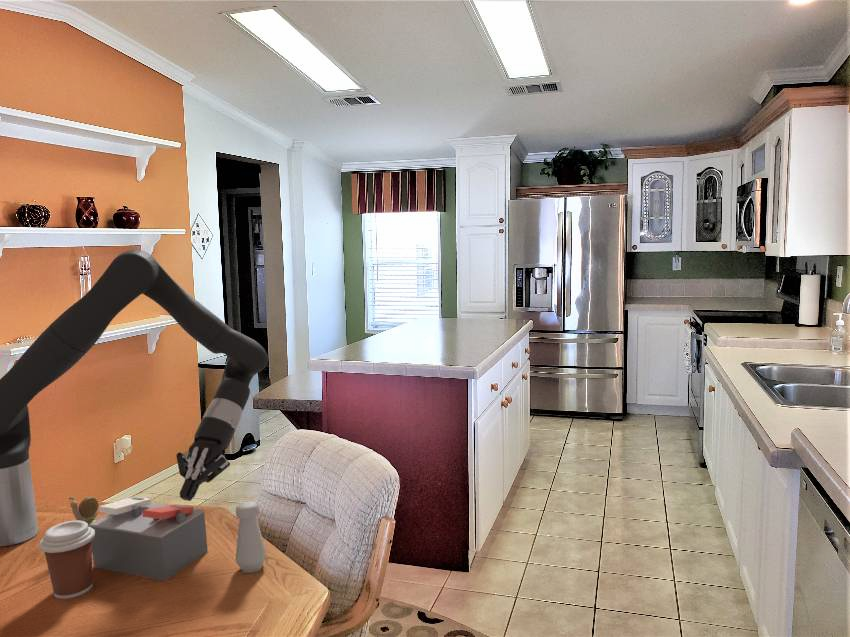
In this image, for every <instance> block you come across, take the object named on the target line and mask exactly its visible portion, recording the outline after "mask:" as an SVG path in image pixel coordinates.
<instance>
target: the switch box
mask: <svg viewBox="0 0 850 637" xmlns="http://www.w3.org/2000/svg"><path fill="white" fill-rule="evenodd" d="M165 506H171V504H164V503H156V502H151V505H148V506H144V507H141V506H140V505H138V506H136V507H134V508H132V510H131V511H128V512H124V513H121V514H118V515H113V514H106V515H104V516H103V517H101V518H99V519H96V520H97V521H95V522H93V523H91V524H89V527H91V528H92V529H94V530H95V538H94V539H93V540H92V564H93V568H96V569H101V570H107V571H111V572H117V573H122V574H125V575H126V574H127V575H132V576H138V577H141V578H147V579H153V580H158V581H163V582H166V581H168V580H170V578H172V577H174V576H175V575H176V574H178V573H180V572H181V571H182V570H183V569H185V568H186V567H188V566H189V565H190V564H192V563H194V562H196V560H198V559H199V558H201V557H202V556H203V555H205V554H206V553H208V552H209V550H208V540H207V527H206V518H205V509H201V508H200V509H199V508H193V513H191V514H185V512H182V511H181V512H180V513H178V514H176V516H175V517H170V518H164V519H155V518H149V517H142V516H143V510H147V509H153V508H159V507H165Z"/></svg>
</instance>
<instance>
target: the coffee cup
mask: <svg viewBox="0 0 850 637" xmlns="http://www.w3.org/2000/svg"><path fill="white" fill-rule="evenodd" d="M94 538H95V530H94V529H92V528H91V527H88V523H86V522H85V521H79V520H77V519H76V520H69V521H64V522H61V523H57V524H54V525H53V526H51V527H49V528H48V529H47V530H45V533H44V537H43V538H42V539H41V540H40V541H39V545H38V546H39V550H41V552H43V553H44V556H45V559H46V565H47V569H48V570H47V571H48V574H49V577H50V582H51V587H52V592H53V597H55V598H56V599H58V600H67V599H73V598H77V597H79V596H82V595H84V594H86V593H87V592H89V591H90V590H91V589H92V587H93V584H94V583H93V554H92V540H93V539H94Z"/></svg>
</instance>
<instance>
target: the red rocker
mask: <svg viewBox="0 0 850 637" xmlns="http://www.w3.org/2000/svg"><path fill="white" fill-rule="evenodd" d="M170 505H171V504H170ZM193 509H194V506H190V505H183V504H182V505H181V504H172V505H171V506H165V507H159V508H153V509H147V510H143V516H142V517H149V518H155V519H164V518H170V517H175V516H176V514H178V513H180V512H181V511H182V512H185V514H191V513H193Z"/></svg>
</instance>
